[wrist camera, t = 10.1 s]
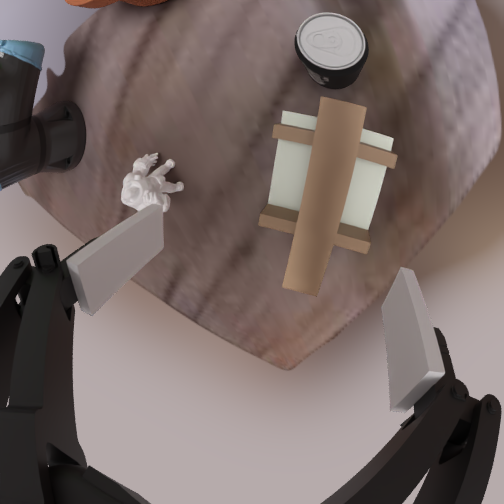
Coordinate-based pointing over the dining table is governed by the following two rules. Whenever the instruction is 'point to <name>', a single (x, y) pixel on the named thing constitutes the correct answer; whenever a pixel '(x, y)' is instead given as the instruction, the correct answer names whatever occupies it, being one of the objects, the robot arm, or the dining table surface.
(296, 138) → the rest stand
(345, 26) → the beverage can
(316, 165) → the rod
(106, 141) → the dining table surface
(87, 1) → the potted cactus
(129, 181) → the figurine
